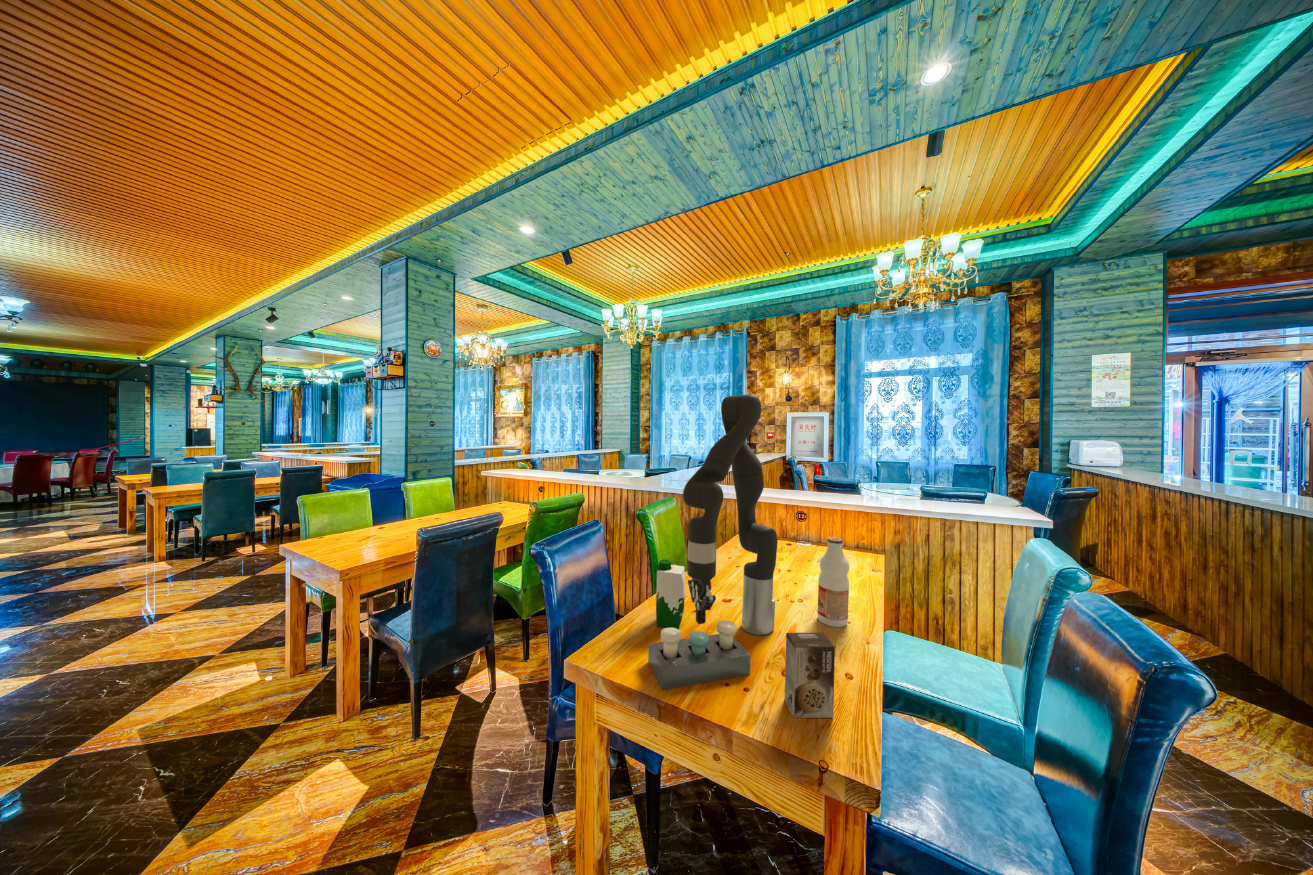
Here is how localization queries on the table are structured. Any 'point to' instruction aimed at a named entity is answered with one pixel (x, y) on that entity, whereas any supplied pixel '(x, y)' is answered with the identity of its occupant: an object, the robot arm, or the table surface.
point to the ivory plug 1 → (670, 642)
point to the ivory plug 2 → (726, 634)
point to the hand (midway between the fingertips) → (700, 622)
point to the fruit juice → (833, 585)
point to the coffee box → (809, 675)
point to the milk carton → (670, 595)
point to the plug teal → (698, 642)
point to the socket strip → (698, 663)
